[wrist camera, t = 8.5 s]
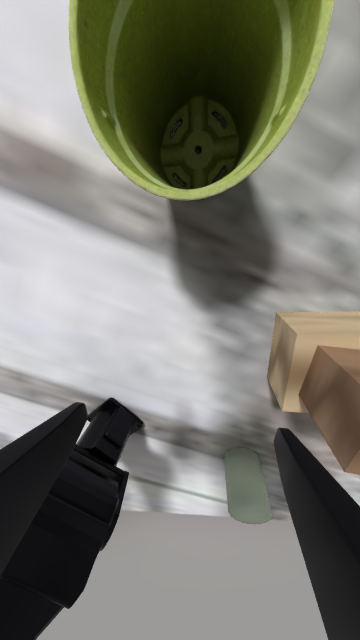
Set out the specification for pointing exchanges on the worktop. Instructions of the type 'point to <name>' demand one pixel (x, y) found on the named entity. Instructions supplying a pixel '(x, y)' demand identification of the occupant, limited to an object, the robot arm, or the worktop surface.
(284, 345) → the oak block
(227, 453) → the sage cylinder
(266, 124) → the plant pot
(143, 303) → the worktop surface
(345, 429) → the walnut cube
